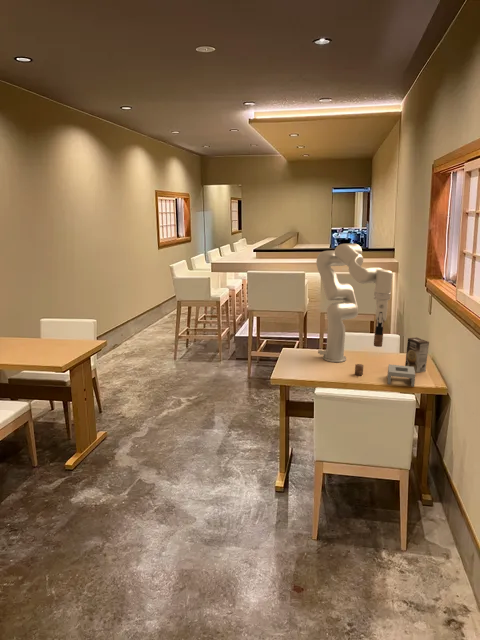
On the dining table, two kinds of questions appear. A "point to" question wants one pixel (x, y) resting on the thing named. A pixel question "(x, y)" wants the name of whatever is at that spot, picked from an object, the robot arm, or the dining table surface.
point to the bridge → (401, 372)
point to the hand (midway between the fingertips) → (378, 333)
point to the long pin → (378, 337)
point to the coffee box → (417, 354)
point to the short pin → (359, 369)
